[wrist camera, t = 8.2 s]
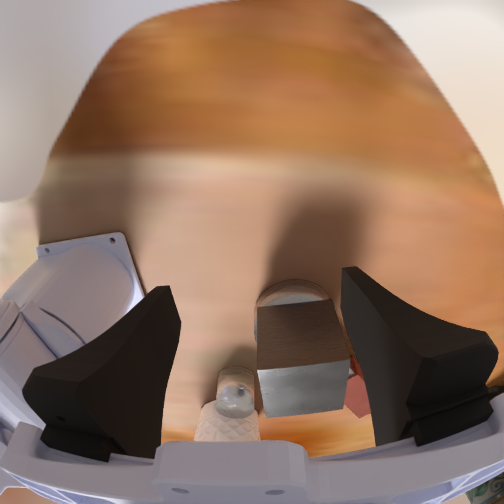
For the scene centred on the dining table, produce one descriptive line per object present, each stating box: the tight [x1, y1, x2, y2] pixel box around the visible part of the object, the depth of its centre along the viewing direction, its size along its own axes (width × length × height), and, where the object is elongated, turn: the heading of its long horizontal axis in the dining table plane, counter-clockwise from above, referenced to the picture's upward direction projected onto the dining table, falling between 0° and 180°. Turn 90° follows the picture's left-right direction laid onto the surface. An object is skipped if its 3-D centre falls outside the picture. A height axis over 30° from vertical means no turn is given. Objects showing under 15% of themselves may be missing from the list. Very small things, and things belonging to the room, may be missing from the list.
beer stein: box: [465, 386, 504, 504], centre depth 26 cm, size 16×19×25 cm
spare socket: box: [215, 366, 254, 419], centre depth 28 cm, size 4×4×4 cm
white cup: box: [194, 400, 260, 442], centre depth 29 cm, size 8×8×10 cm
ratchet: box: [254, 280, 371, 418], centre depth 26 cm, size 20×6×6 cm, turn 37°
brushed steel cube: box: [257, 299, 351, 418], centre depth 21 cm, size 5×5×6 cm
